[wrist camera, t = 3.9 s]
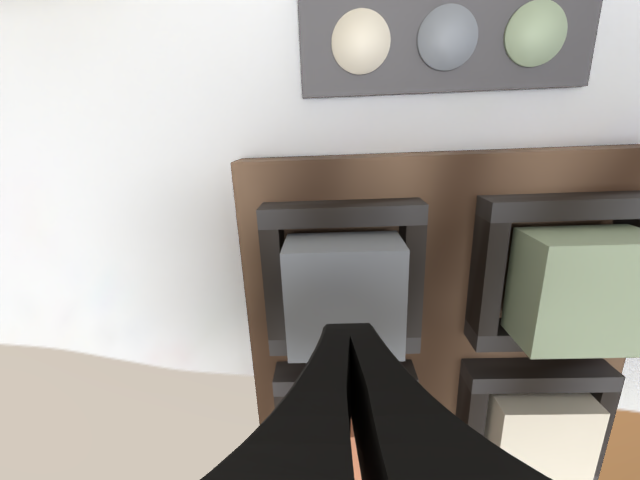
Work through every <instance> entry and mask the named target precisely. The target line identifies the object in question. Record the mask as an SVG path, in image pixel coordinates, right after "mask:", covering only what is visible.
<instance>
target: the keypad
mask: <svg viewBox="0 0 640 480" xmlns="http://www.w3.org/2000/svg"><path fill="white" fill-rule="evenodd" d="M231 171H232V180H233V189H234V198H235V207H236V216H237V225H238V234H239V243H240V252H241V261H242V270H243V279H244V288H245V297H246V306H247V315H248V324H249V333H250V342H251V351H252V360H253V369H254V378H255V386H256V396H257V404H258V414H259V422H260V425H261V423H262V422H263V421H264V420H265V419H266V418H267V417H268V416H269V415H270V414H271V412H272V411H273V410H274V409H275V408H276V406H277V405H278V404H279V403H280V402H281V400H282V399H283V398H284V396H285V395H286V394H287V392H288V391H289V390H290V388H291V387H292V386H293V384H294V383H295V381H296V379H297V378H298V376H299V375H300V373H301V372H302V370H303V369H304V367H305V366H306V364H307V363H288V357H287V344H286V331H285V318H284V305H283V292H282V278H281V265H280V252H281V249H282V247H283V244H284V241H285V239H286V236H287V234H295V233H329V232H364V231H397V232H398V233H399V235H400V236H401V238H402V239H403V241H404V242H405V244H406V245H407V247H408V249H409V250H410V256H409V280H408V304H407V328H406V352H405V361H399V362H400V363H401V364H402V365H403V366H404V367H405V368H406V370H407V371H408V372H409V373H410V374H411V375H412V376H413V377H414V378H415V379H416V380H417V381H418V382H419V383H420V384H421V385H422V386H423V387H424V388H425V389H426V390H427V391H428V392H429V393H430V394H431V395H432V396H433V397H434V398H435V399H436V400H438V401H439V402H440V403H441V404H442V405H443V406H445V407H446V408H447V409H448V410H449V411H451V412H452V413H453V414H454V415H456V416H457V417H458V418H459V419H461V420H462V421H463V422H465V423H466V424H467V425H469V426H470V427H471V428H473V429H474V430H476V431H477V432H478V433H480V434H481V435H483V436H484V431H485V424H486V416H487V408H488V401H489V394H523V393H590V394H591V395H592V396H593V397H594V398H595V399H596V400H597V401H598V402H599V403H600V404H601V405H602V406H603V407H604V408H605V409H606V410H607V411H608V412H609V413H610V417H609V421H608V425H607V429H606V433H605V436H604V440H603V444H602V448H601V452H600V456H599V459H598V463H597V467H596V471H595V475H594V478H593V480H598V478H599V474H600V470H601V467H602V463H603V459H604V455H605V451H606V448H607V444H608V440H609V436H610V433H611V429H612V425H613V422H614V418H615V414H616V410H617V407H618V403H619V399H620V395H621V392H622V388H623V384H624V381H625V376H623V375H622V370H623V366H624V363H625V359H626V358H581V359H530V358H529V357H528V356H527V355H526V354H525V352H524V351H523V350H522V349H521V348H520V347H519V346H518V344H517V343H516V342H515V341H514V340H513V339H512V337H511V336H510V335H509V334H508V333H507V332H506V330H505V329H504V328H503V327H502V326H501V318H502V310H503V303H504V295H505V288H506V280H507V273H508V265H509V258H510V250H511V243H512V235H513V228H514V227H537V226H571V225H606V224H630V225H633V226H636V227H639V228H640V144H628V145H601V146H573V147H546V148H518V149H491V150H463V151H436V152H408V153H381V154H353V155H325V156H298V157H270V158H243V159H239V160H237V161H234V162H231Z"/></svg>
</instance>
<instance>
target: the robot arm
mask: <svg viewBox="0 0 640 480" xmlns="http://www.w3.org/2000/svg"><path fill="white" fill-rule="evenodd" d="M351 419H352V425H353V431H354V437H355V443H356V449H357V455H358V461H359V467H360V472H361V478H362V480H553V479H551V478H549V477H547V476H545V475H544V474H542V473H540V472H539V471H537V470H535V469H534V468H532V467H530V466H529V465H527V464H525V463H524V462H522V461H521V460H519V459H517V458H516V457H514V456H512V455H511V454H509V453H508V452H506V451H505V450H503V449H502V448H500V447H499V446H497V445H496V444H494V443H492V442H491V441H490V440H488V439H487V438H485V437H484V436H483V435H481V434H480V433H478V432H477V431H476V430H474V429H473V428H471V427H470V426H469V425H467V424H466V423H465V422H463V421H462V420H461V419H459V418H458V417H457V416H456V415H454V414H453V413H452V412H451V411H449V410H448V409H447V408H446V407H445V406H443V405H442V404H441V403H440V402H439V401H438V400H436V399H435V398H434V397H433V396H432V395H431V394H430V393H429V392H428V391H427V390H426V389H425V388H424V387H423V386H422V385H421V384H420V383H419V382H418V381H417V380H416V379H415V378H414V377H413V376H412V375H411V374H410V373H409V372H408V371H407V370H406V368H405V367H404V366H403V365H402V364H401V363H400V362H399V360H398V359H397V358H396V357H395V356H394V355H393V353H392V352H391V351H390V350H389V348H388V347H387V346H386V344H385V343H384V342H383V340H382V339H381V338H380V336H379V335H378V333H377V332H376V330H375V329H374V327H373V326H372V325H371V324H370V323H341V324H326V325H325V326H324V327H323V330H322V333H321V336H320V339H319V341H318V343H317V345H316V347H315V349H314V351H313V353H312V355H311V357H310V358H309V360H308V362H307V364H306V366H305V367H304V369H303V370H302V372H301V373H300V375H299V376H298V378H297V379H296V381H295V383H294V384H293V386H292V387H291V388H290V390H289V391H288V392H287V394H286V395H285V396H284V398H283V399H282V400H281V402H280V403H279V404H278V405H277V406H276V408H275V409H274V410H273V411H272V412H271V414H270V415H269V416H268V417H267V418H266V419H265V420H264V421H263V422H262V423H261V425H260V426H259V427H258V428H257V429H256V430H255V431H254V432H253V433H252V434H251V435H250V436H249V437H248V438H247V439H246V440H245V441H244V442H243V443H242V444H241V445H240V446H239V447H238V448H236V449H235V450H234V451H233V452H232V453H231V454H230V455H229V456H228V457H226V458H225V459H224V460H223V461H222V462H221V463H220V464H218V466H216V467H215V468H214V469H213V470H212V471H210V472H209V473H208V474H207V475H206V476H204V477H203V478H202V479H200V480H355V479H354V469H353V459H352V449H351V438H350V434H351Z"/></svg>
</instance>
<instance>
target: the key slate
mask: <svg viewBox="0 0 640 480" xmlns="http://www.w3.org/2000/svg"><path fill="white" fill-rule="evenodd" d="M409 256H410V250H409V249H408V247H407V245H406V244H405V242H404V241H403V239H402V238H401V236H400V235H399V233H398V232H397V231H364V232H329V233H295V234H287V236H286V239H285V241H284V244H283V247H282V249H281V252H280V265H281V278H282V292H283V305H284V318H285V331H286V344H287V357H288V363H307V362H308V360H309V358H310V357H311V355H312V353H313V351H314V349H315V347H316V345H317V343H318V341H319V339H320V336H321V333H322V330H323V327H324V326H325V325H326V324H341V323H370V324H371V325H372V326H373V327H374V329H375V330H376V332H377V333H378V335H379V336H380V338H381V339H382V340H383V342H384V343H385V344H386V346H387V347H388V348H389V350H390V351H391V352H392V353H393V355H394V356H395V357H396V358H397V359H398V360H399V361H405V352H406V328H407V304H408V280H409Z"/></svg>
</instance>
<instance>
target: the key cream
mask: <svg viewBox="0 0 640 480" xmlns="http://www.w3.org/2000/svg"><path fill="white" fill-rule="evenodd" d="M609 417H610V413H609V412H608V411H607V410H606V409H605V408H604V407H603V406H602V405H601V404H600V403H599V402H598V401H597V400H596V399H595V398H594V397H593V396H592V395H591V394H590V393H523V394H489V401H488V408H487V416H486V424H485V431H484V437H485V438H487V439H488V440H490V441H491V442H492V443H494V444H496V445H497V446H499V447H500V448H502V449H503V450H505V451H506V452H508V453H509V454H511V455H512V456H514V457H516V458H517V459H519V460H521V461H522V462H524V463H525V464H527V465H529V466H530V467H532V468H534V469H535V470H537V471H539V472H540V473H542V474H544V475H545V476H547V477H549V478H551V479H553V480H593V478H594V475H595V471H596V467H597V463H598V459H599V456H600V452H601V448H602V444H603V440H604V436H605V433H606V429H607V425H608V421H609Z"/></svg>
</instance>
